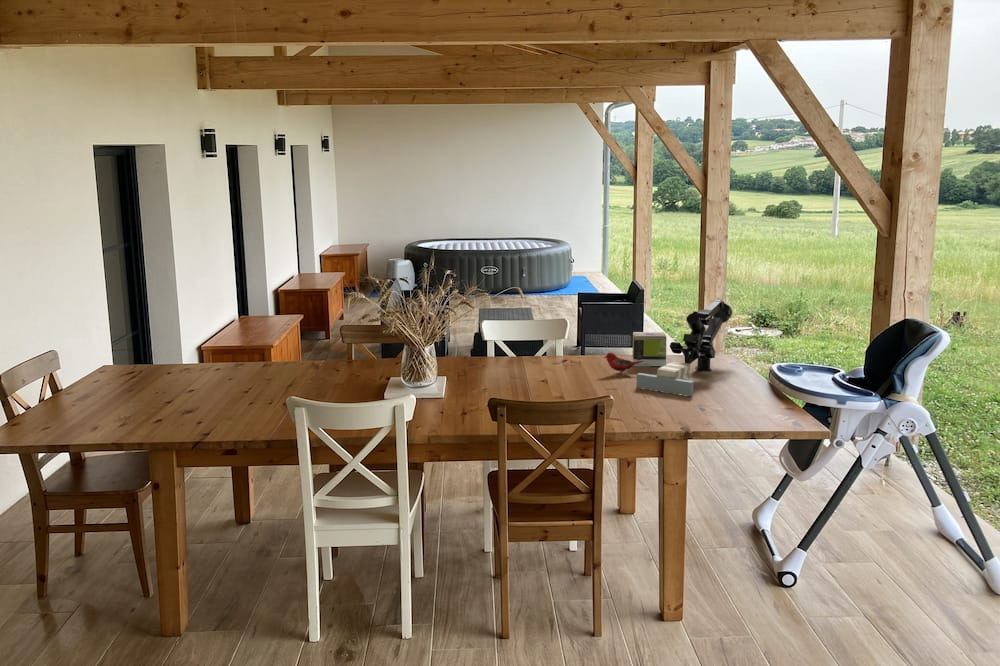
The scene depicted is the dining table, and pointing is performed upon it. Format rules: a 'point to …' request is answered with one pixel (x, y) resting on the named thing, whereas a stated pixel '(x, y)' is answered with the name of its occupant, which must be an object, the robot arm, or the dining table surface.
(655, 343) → the tea box
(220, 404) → the dining table surface
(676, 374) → the block
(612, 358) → the decorative bird figurine
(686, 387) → the board
